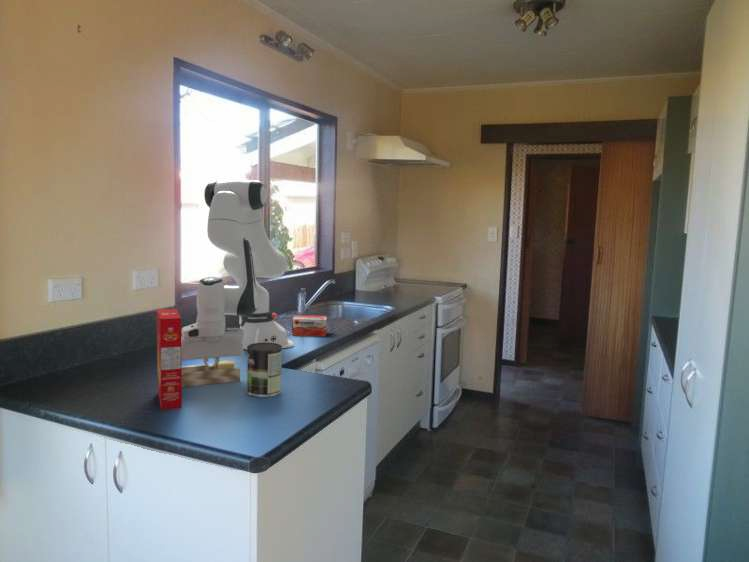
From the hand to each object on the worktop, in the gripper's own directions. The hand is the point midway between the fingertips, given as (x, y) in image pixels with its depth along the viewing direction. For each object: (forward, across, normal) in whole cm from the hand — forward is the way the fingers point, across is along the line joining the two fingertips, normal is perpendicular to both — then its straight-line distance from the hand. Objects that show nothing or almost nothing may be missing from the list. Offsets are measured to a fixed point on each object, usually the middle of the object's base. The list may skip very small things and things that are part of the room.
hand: (210, 371), depth 182 cm
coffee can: (+3, -12, +18) cm, 22 cm away
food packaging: (+3, +15, +16) cm, 22 cm away
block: (+3, -4, 0) cm, 5 cm away
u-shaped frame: (+3, +2, 0) cm, 3 cm away
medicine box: (+3, -54, -55) cm, 77 cm away
